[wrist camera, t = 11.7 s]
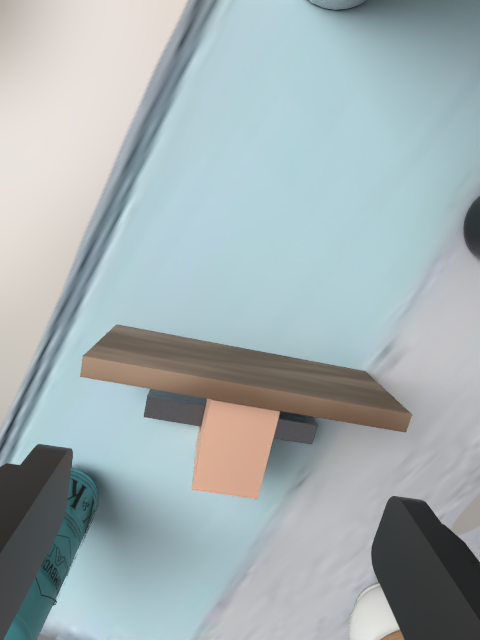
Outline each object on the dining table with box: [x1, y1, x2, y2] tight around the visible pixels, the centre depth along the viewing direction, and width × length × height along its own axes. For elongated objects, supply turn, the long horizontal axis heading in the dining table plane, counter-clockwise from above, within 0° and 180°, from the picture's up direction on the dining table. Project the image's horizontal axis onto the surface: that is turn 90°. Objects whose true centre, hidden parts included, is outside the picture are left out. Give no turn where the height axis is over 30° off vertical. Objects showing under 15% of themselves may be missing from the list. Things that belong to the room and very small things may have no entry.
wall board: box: [80, 325, 412, 432], centre depth 31 cm, size 2×24×9 cm, turn 78°
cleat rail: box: [144, 389, 317, 444], centre depth 36 cm, size 2×16×2 cm, turn 78°
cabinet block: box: [192, 398, 280, 499], centre depth 34 cm, size 8×6×7 cm
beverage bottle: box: [4, 468, 98, 640], centre depth 28 cm, size 6×7×20 cm
